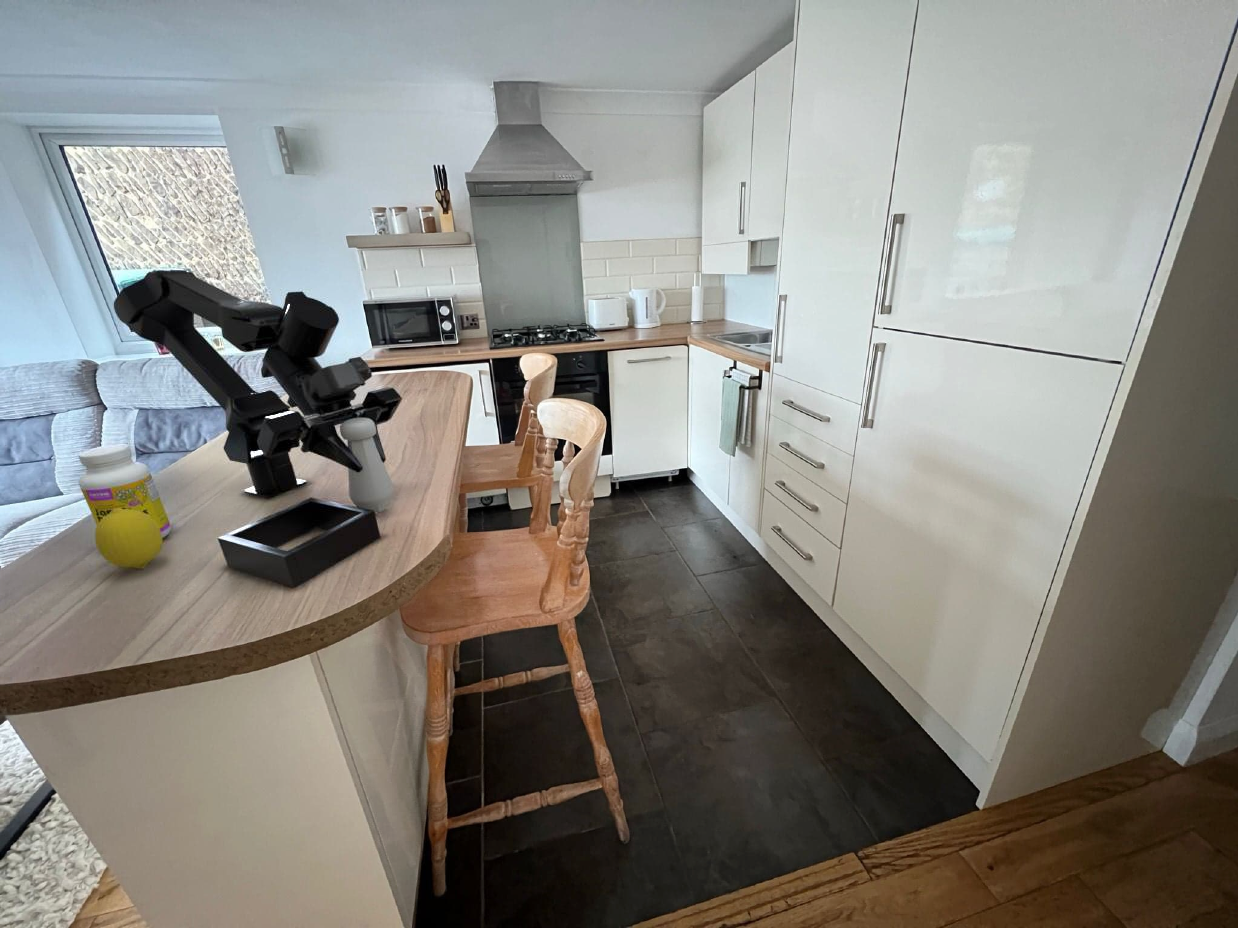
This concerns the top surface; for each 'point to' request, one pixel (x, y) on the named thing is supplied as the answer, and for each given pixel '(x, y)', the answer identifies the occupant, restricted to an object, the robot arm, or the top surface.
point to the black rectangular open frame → (297, 565)
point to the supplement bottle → (120, 485)
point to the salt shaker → (367, 467)
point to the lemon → (128, 538)
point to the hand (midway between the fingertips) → (372, 466)
